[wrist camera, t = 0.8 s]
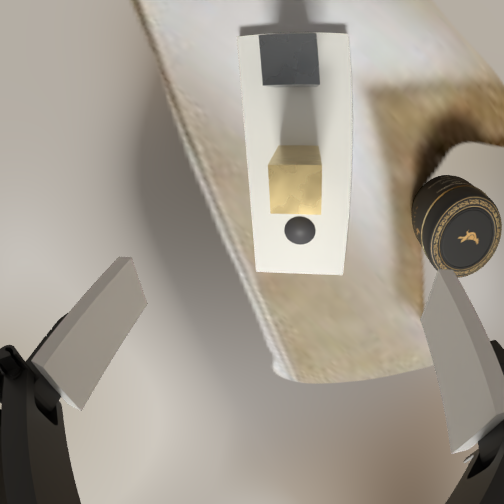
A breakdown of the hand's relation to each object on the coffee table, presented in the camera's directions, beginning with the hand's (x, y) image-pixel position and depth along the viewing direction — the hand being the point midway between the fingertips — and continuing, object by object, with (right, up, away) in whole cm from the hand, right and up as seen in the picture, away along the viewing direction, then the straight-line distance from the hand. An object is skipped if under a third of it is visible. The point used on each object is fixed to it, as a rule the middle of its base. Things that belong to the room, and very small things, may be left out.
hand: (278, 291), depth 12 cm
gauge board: (+4, +12, +18) cm, 22 cm away
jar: (+22, +7, +18) cm, 29 cm away
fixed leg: (+3, +19, +12) cm, 23 cm away
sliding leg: (+4, +11, +17) cm, 20 cm away
